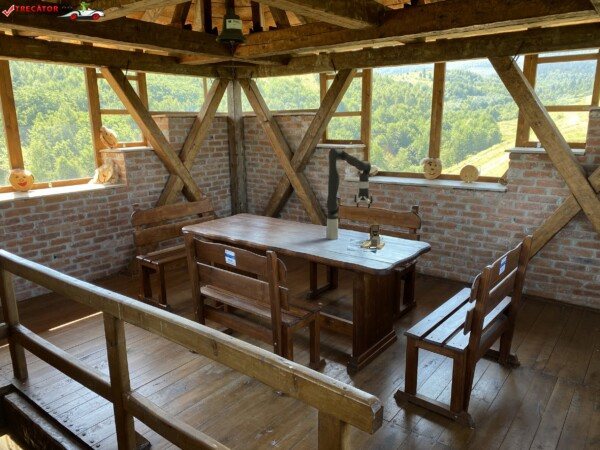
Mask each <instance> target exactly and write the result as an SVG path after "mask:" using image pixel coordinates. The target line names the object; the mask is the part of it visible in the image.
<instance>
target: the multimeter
mask: <svg viewBox="0 0 600 450" xmlns="http://www.w3.org/2000/svg"><path fill="white" fill-rule="evenodd" d="M371 217H372V218H373V223H370V224H369V240H368V241H369V242H371V239H372V238H373V237H374V236H377V237H380V234H381V236H383V234H382V233H380V231H381V230H382V229H381V228H380V227H381V224H380V223H377V222H376V220H377V218H376V217H379V219H381V217H380V216H379V215H377V216H373V215H371V216H370V217H368V219H367V222H366V224H368V222H369V218H371ZM381 240H384V239H383V237H381Z"/></svg>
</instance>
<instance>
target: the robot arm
mask: <svg viewBox="0 0 600 450" xmlns="http://www.w3.org/2000/svg"><path fill="white" fill-rule="evenodd" d="M340 160H342V161H345V162H346V163H347V164H349V165H350V166H352V167H353V168H356V169H357V170H358V171H361V172H362V173H360V174H359V180H358V181H359V183H358V194H354V197H353V198H354V199H353V200H354V203H356V207H357V209H359V207H360V201H366V202H367V209H370V208H371V204H373V203H374V196H373V195H372V194H369V193H370V192H369V189H370V186H369V185H370V183H369V179H370V177H369V176H370V173H371V169H372V164H371V162H370V161H368V160H366V161H365V160H364V161H362V160H361V159H360V158H359V157H356V156H354V155H351V154H349V153H347V152H346V151H345V150H343V149H341V148H337V147H335V148H330V149H329V153H328V179H327V180H328V181H327V183H328V184H327V200H326V209H327V215H326V226H327V227H326V229H325V232H326V233H325V235H326V236H325V239H328V240H338V238H339V213H340V204H339V201H338V199H337V198H338V192H339V189H340V188H339V187H340V181H341V176H340V173H339V171H338V167H337V161H340ZM369 198H370V199H369Z"/></svg>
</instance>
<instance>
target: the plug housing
mask: <svg viewBox="0 0 600 450" xmlns="http://www.w3.org/2000/svg"><path fill="white" fill-rule="evenodd" d="M370 242H371V246H378V245H379V243H381V236H379V237H377V236H374V237H373V238H372V239H370Z"/></svg>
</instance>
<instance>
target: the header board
mask: <svg viewBox="0 0 600 450" xmlns="http://www.w3.org/2000/svg"><path fill="white" fill-rule="evenodd" d="M385 246H386V242H380V243H379V245H378V246H371V241H369V240H368V241H366V240H365V241H364V242H363V243H362V244H361V245H360V248H362V247H376V248H377V249H376V250H382V249H383V248H384V247H385Z"/></svg>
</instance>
